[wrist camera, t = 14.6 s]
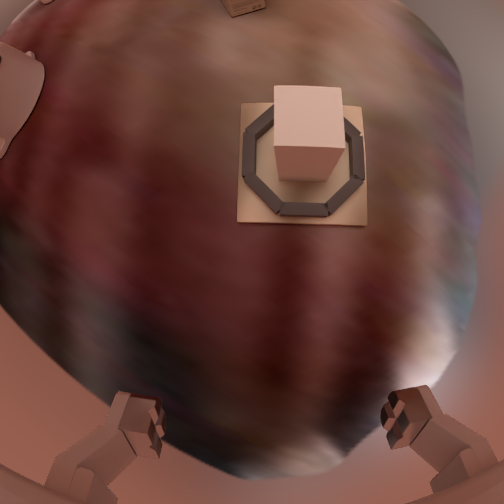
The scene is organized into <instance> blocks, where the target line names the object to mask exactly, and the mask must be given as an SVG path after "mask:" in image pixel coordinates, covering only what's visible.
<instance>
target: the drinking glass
mask: <svg viewBox="0 0 504 504" xmlns="http://www.w3.org/2000/svg"><path fill="white" fill-rule="evenodd" d="M40 1H41V2H42V3H43V4H48V3H50V2H52V1H53V0H40Z"/></svg>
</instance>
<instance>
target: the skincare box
mask: <svg viewBox="0 0 504 504" xmlns="http://www.w3.org/2000/svg"><path fill="white" fill-rule="evenodd" d="M221 1H222V3H223V4H224V6H225V8H226V9H227V11H228V12H229V14H230V15H231V16H232V17H234V16H237V15H240V14H244V13H247V12H251V11H254V10H257V9H261V8H264V7H266V6H265V0H221Z"/></svg>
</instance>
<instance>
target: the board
mask: <svg viewBox="0 0 504 504" xmlns="http://www.w3.org/2000/svg"><path fill="white" fill-rule="evenodd" d="M343 117H344V131H345V150H344V152H343V154H342V155H341V157H340V159H339V161H338V162H337V164H336V166H335V168H334V169H333V171H332V173H331V175H330V176H329V178H328V180H327V182H312V181H279V178H278V171H277V164H276V157H275V150H274V103H241V123H240V147H239V173H238V203H237V222H239V223H282V224H317V225H344V226H367V182H366V160H365V144H364V131H363V120H362V110H361V107H356V106H345V105H343Z"/></svg>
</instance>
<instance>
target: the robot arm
mask: <svg viewBox="0 0 504 504" xmlns="http://www.w3.org/2000/svg"><path fill="white" fill-rule="evenodd" d="M43 81H44V66H43V64H42V63H41V62H39V61H37V60H36V59H35V54H34V53H33V52H31V51H28V52H27V53H23V52H21V51H19V50H17V49H15V48H13V47H11V46H9V45H7V44H5V43H3V42H0V158H2V157H3V156H4V154H5V152H6V150H7V148H8V146H9V144H10V142H11V140H12V139H13V137H14V136H15V135H16V133H17V132H18V131H19V130H20V129H21V127H22V126H23V124H24V123H25V121H26V120H27V118H28V117H29V115H30V113H31V112H32V110H33V108H34V106H35V104H36V102H37V99H38V97H39V94H40V92H41V89H42V85H43ZM388 400H389V401H388V402H387V403H386V404H385V405H384V406H383V408H382V410H381V423H382V426H383V428H384V429H386V430H387V431H388V433H387V436H386V437H387V440H388V443H389V445H390V448H391V449H397V448H402V447H406V446H410V447H411V448H412V449H413V450H414V451H415V452H416V453H417V454H419V455H420V456H421V457H422V458H423V459H424V460H425V461H426V462H428V463H429V464H430V465H431V466H432V467H433V468H434V469H436V470H437V471H438V472H439V473H438V474H437V475H436V476H435V477H434V478H433V479H432V480H431V482H430V485H431V487H432V491H433V493H434V494H431V495H429V496H426V497H423V498H421V499H418V500H415V501H412V502H409V503H406V504H504V459H503V460H501V461H500V462H498V460H497V458H496V456H495V454H494V452H493V450H492V448H491V446H490V444H489V443H488V440H487V439H486V438H484V437H483V436H481V435H479V434H478V433H476V432H474V431H473V430H471V429H470V428H468V427H466V426H465V425H463V424H462V423H460V422H458V421H457V420H455V419H454V418H452V417H450V416H449V415H447V414H445V415H444V414H443V412H442V411H441V409H440V407H439V405H438V403H437V401H436V399H435V398H434V396H433V394H432V392H431V390H430V388H429V387H428V386H427V385H423V386H418V387H412V388H407V389H402V390H397V391H392V392H391V393H390V394H389V396H388ZM161 405H162V402H161V399H160V398H158V397H151V396H145V395H138V394H132V393H126V392H120V391H118V393H117V394H116V395H115V397H114V400H113V403H112V405H111V408H110V410H109V413H108V416H107V418H106V421H105V424H104V426H99V427H97V428H96V429H95V430H93V431H92V432H91V433H89V434H88V435H86V436H85V437H83V438H82V439H81V440H79V441H78V442H76V443H75V444H73V445H72V446H71V447H69V448H68V449H66V450H65V451H63V452H62V453H61V454H59V455H58V456H56V457H55V459H54V462H53V464H52V467H51V469H50V472H49V474H48V477H47V480H46V483H45V485H41V484H39V483H37V482H35V481H33V480H31V479H28V478H27V477H25V476H23V475H20V474H19V473H16V472H15V471H13V470H11V469H9V468H7V467H6V466H4V465H2V464H0V504H117V500H118V498H117V497H116V495H115V494H114V493H113V492H112V491H111V490H110V489H108V487H107V486H108V485H109V484H110V483H111V482H112V481H113V480H114V479H115V478H116V477H117V476H118V475H119V474H120V473H121V472H122V471H123V470H124V469H125V468H126V467H127V466H128V465H129V464H130V463H131V462H132V461H133V460H134V459H135V458H136V457H137V456H140V457H147V458H154V459H159V458H160V453H161V448H162V442H161V440H160V438H161V437H162V436H163V435H164V434H165V428H166V416H165V412H164V410H162V409H161Z"/></svg>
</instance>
